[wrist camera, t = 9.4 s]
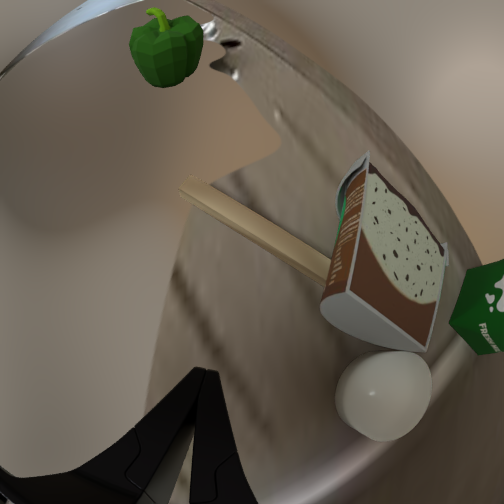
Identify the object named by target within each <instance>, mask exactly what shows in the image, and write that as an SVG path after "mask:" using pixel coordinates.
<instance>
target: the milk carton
mask: <svg viewBox="0 0 504 504" xmlns="http://www.w3.org/2000/svg"><path fill="white" fill-rule="evenodd" d="M449 324H450V325H451V326H452V327H453V328H454V329H455V330H456V331H457V332H458V334H459V335H460V336H461V337H462V338H463V339H464V340H465V341H466V342H467V343H468V344H469V345H470V347H471V348H472V349H473V350H474V351H475V352H476V353H477V354H478V355H483V354H491V353H498V352H504V259H502V260H500V261H497V262H494V263H490V264H487V265H483V266H479V267H475V268H472V269H468V270H467V272H466V276H465V279H464V282H463V285H462V288H461V291H460V294H459V297H458V300H457V303H456V306H455V308H454V311H453V314H452V316H451V319H450V321H449Z"/></svg>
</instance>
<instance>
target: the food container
mask: <svg viewBox="0 0 504 504" xmlns="http://www.w3.org/2000/svg"><path fill="white" fill-rule="evenodd" d="M369 158H370V151H368V152H367V153H365V154H364V155H363V156H361V157H360V158H359V159H358V160H357V161H356V162H355V163H354V164H353V165H352V166H351V168H350V169H349V170H348V172H347V173H346V175H345V176H344V178H343V180H342V181H341V183H340V185H339V187H338V190H337V193H336V202H335V205H336V211H337V215H338V217H339V220H340V223H339V228H338V232H337V237H336V242H335V246H334V251H333V255H332V259H331V263H330V268H329V272H328V276H327V280H326V284H325V287H324V291H323V295H322V299H321V302H320V312H321V314H322V315H323V317H324V318H325V319H326V320H327V321H328V322H329V323H331V324H332V325H333V326H335V327H336V328H338V329H339V330H341V331H343V332H345V333H347V334H349V335H351V336H353V337H355V338H358V339H360V340H363V341H366V342H369V343H372V344H375V345H378V346H382V347H387V348H391V349H396V350H403V351H410V352H427V349H428V346H429V342H430V338H431V335H432V331H433V327H434V323H435V319H436V314H437V310H438V305H439V300H440V295H441V290H442V284H443V278H444V271H445V266H449V254H448V249H447V244H448V243H447V242H446V243H442V244H440V243H439V242H438V240H437V239H436V238H435V236H434V235H433V234H432V232H431V231H430V230H429V228H428V227H427V225H426V224H425V222H424V221H423V219H422V218H421V216H420V215H419V213H418V212H417V210H416V209H415V208H414V206H413V205H412V204H411V203H410V202H409V201H408V200H407V199H406V198H404V197H403V196H402V195H401V194H400V193H399V192H398V191H397V190H396V189H395V188H394V187H393V186H392V185H391V184H390V183H389V182H388V181H387V180H386V179H385V178H384V177H383V176H382V175H381V174H380V173H379V171H378V170H377V169H376V168H375V167H374V166H373V165H372V164H371V163H370V162H369Z"/></svg>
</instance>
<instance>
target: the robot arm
mask: <svg viewBox="0 0 504 504" xmlns="http://www.w3.org/2000/svg"><path fill="white" fill-rule="evenodd" d="M193 435H194V443H193V455H192V468H191V482H190V498H189V504H258V502H257V500H256V498H255V496H254V494H253V492H252V490H251V488H250V486H249V484H248V481H247V479H246V477H245V474H244V471H243V468H242V465H241V462H240V458H239V454H238V452H237V447H236V444H235V440H234V436H233V432H232V428H231V424H230V420H229V416H228V411H227V407H226V403H225V398H224V394H223V390H222V385H221V380H220V376H219V372H218V371H216V370H210V369H208V370H207V371H206V369H205V368H201V367H194V368H193V369H192V370H191V371H190V372H189V373H188V374H187V375H186V376H185V377H184V378H183V379H182V380H181V381H180V382H179V383H178V384H177V385H176V386H175V387H174V388H173V389H172V390H171V391H170V392H169V393H168V394H167V395H166V396H165V397H164V398H163V399H162V400H161V401H160V402H159V403H158V404H157V405H156V406H155V407H154V408H153V409H152V410H151V411H150V412H148V413H147V414H146V415H145V416H144V417H143V418H142V419H141V420H140V421H139V422H138V423H137V424H136V425H135V428H132V429H131V430H129V431H128V432H127V433H126V434H125V435H124V436H123V437H122V438H120V439H119V440H118V441H117V442H116V443H114V444H113V445H112V446H110V447H109V448H107V449H106V450H105V451H103V452H102V453H100V454H99V455H97V456H95V457H94V458H92V459H91V460H90V461H88V462H86V463H85V464H83V465H82V466H80V467H78V468H76V469H74V470H71V471H68V472H64V473H59V474H52V475H45V476H37V477H27V478H19V477H15V476H14V475H12V474H11V473H9V472H8V471H7V470H5V469H4V468H3V467H1V466H0V504H168V503H169V500H170V497H171V495H172V492H173V489H174V487H175V484H176V481H177V479H178V476H179V473H180V470H181V468H182V465H183V462H184V459H185V457H186V454H187V451H188V449H189V446H190V443H191V440H192V438H193Z"/></svg>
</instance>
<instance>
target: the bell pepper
mask: <svg viewBox="0 0 504 504" xmlns="http://www.w3.org/2000/svg"><path fill="white" fill-rule="evenodd" d="M146 13H147V14H148V15H155V16H156V17H157V18H154V19H152V20H151V21H150V22H148V23H147V24H145V25H144V26H141V27H137V28H134V29H133V32H132V35H131V39H130V43H129V46H130V50H131V54H132V57H133V59H134V61H135V64H136V66H137V67H138V69H139V71H140V73H141V74H142V76H143V77H144V78H145V80H146V81H147V82H148V83H150V84H151V85H152V86H154V87H161V88H166V87H172V86H176V85H178V84H179V83H181V82H183V80H184V79H185V77H189V76H190V75H191V74H193V73H194V71H195V70H196V68H197V66H198V63H199V60H200V56H201V52H202V47H203V29H202V28H201V26H200V24H199V23H196V22H195V21H194V20H193V19H192V18H191V17H189V16H182V17H178V18H176V19H173V20H169V19H166V15H165V14H164V12H162V10H160V9H158V8H151V9H148V10H147V11H146Z"/></svg>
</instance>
